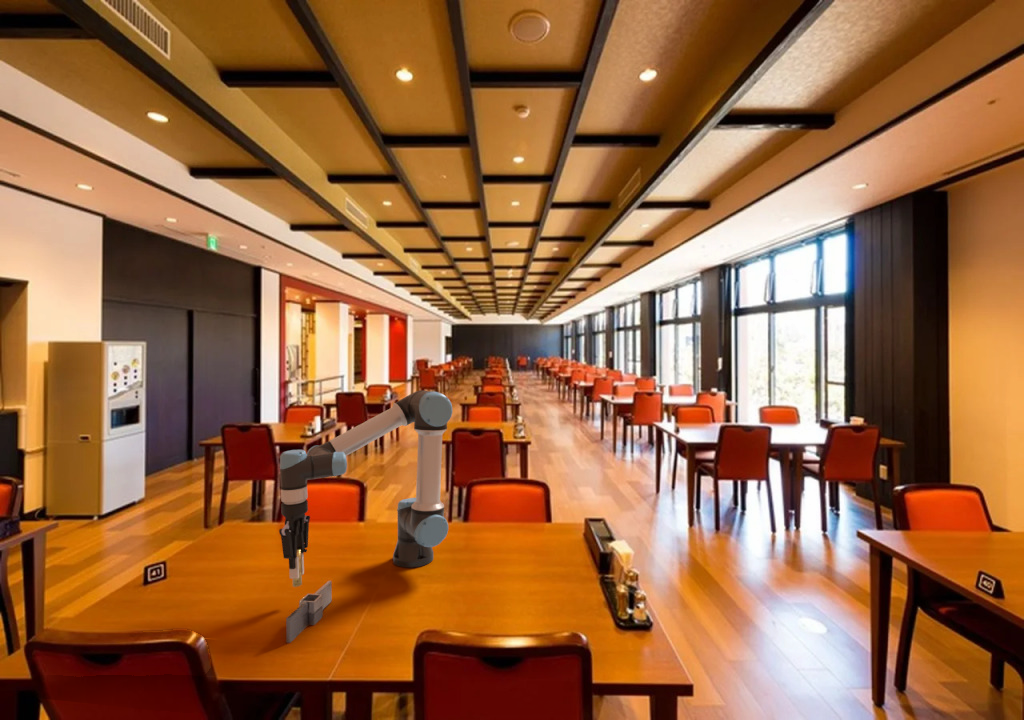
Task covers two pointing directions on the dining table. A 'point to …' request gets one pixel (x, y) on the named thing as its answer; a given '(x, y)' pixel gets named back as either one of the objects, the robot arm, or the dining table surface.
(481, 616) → the dining table surface
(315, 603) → the leaf
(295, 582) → the pin
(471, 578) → the dining table surface
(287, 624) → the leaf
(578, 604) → the dining table surface
